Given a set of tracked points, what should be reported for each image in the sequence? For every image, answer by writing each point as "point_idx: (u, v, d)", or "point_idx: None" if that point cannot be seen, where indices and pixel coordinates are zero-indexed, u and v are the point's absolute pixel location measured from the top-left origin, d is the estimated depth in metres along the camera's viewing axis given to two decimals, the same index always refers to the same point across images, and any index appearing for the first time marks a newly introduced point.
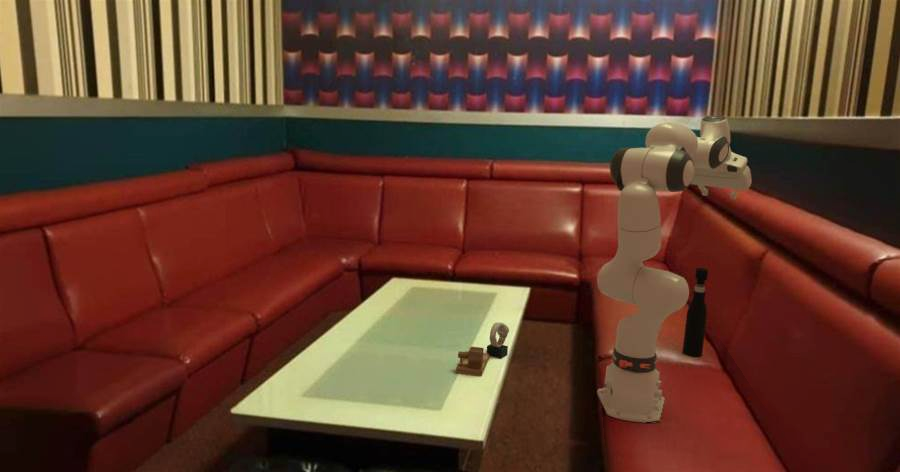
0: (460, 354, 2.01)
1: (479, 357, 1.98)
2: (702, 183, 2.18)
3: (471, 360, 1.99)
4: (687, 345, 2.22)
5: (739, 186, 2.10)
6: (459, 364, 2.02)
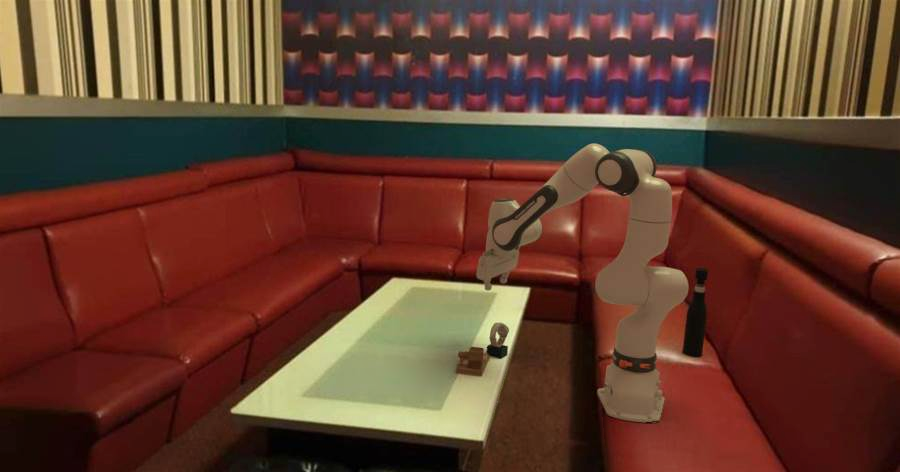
0: (460, 354, 2.01)
1: (479, 357, 1.98)
2: (494, 274, 2.10)
3: (471, 360, 1.99)
4: (687, 345, 2.22)
5: (513, 265, 2.19)
6: (459, 364, 2.02)
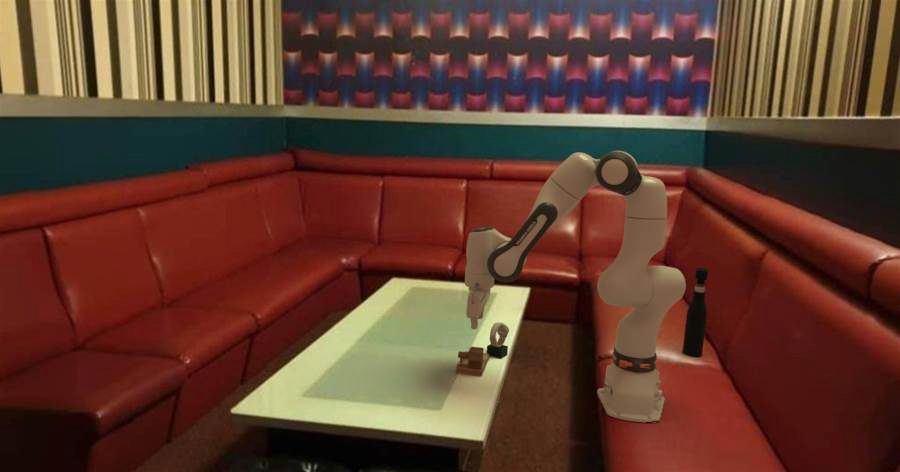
0: (460, 354, 2.01)
1: (479, 357, 1.98)
2: (481, 310, 1.93)
3: (471, 360, 1.99)
4: (687, 345, 2.22)
5: (488, 298, 2.04)
6: (459, 364, 2.02)
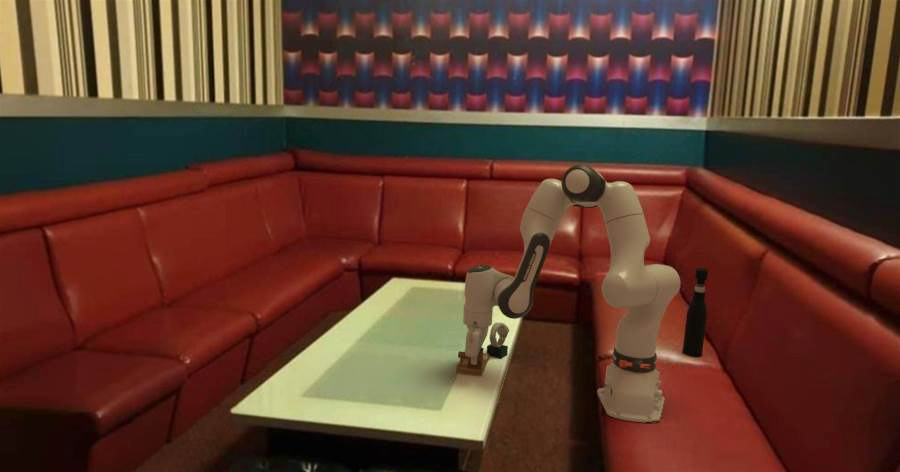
0: (460, 354, 2.01)
1: (479, 357, 1.98)
2: (479, 348, 1.95)
3: None
4: (687, 345, 2.22)
5: (486, 334, 2.06)
6: (459, 364, 2.02)
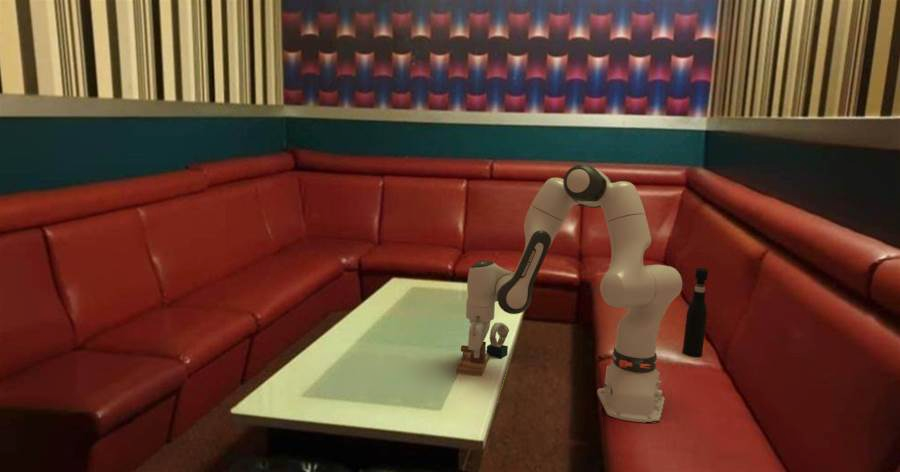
0: (463, 348, 2.05)
1: (481, 351, 2.03)
2: (482, 342, 1.99)
3: (473, 353, 2.03)
4: (687, 345, 2.22)
5: (488, 328, 2.11)
6: (459, 364, 2.02)
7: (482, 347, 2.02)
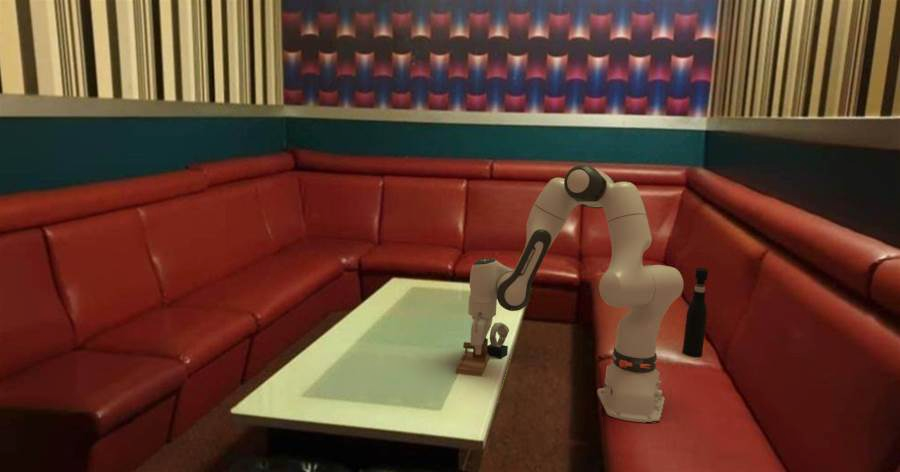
0: (465, 345, 2.09)
1: (484, 347, 2.06)
2: (484, 338, 2.03)
3: None
4: (687, 345, 2.22)
5: (490, 325, 2.15)
6: (459, 364, 2.02)
7: (484, 344, 2.06)
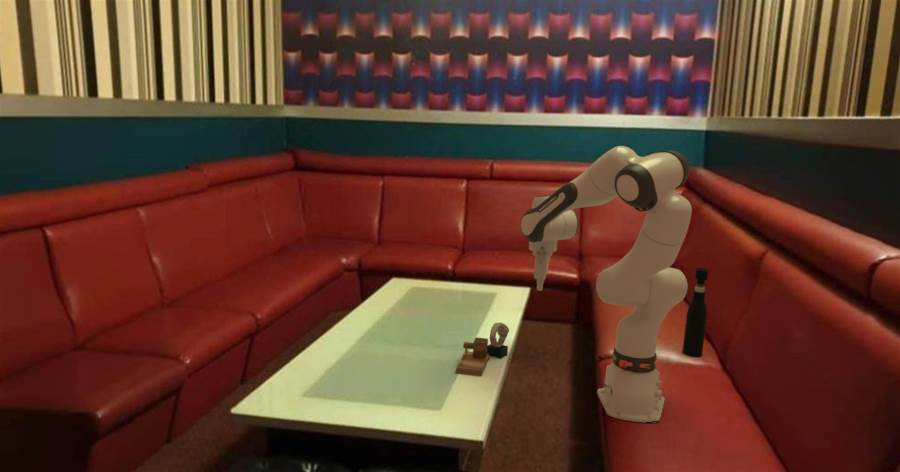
0: (465, 345, 2.09)
1: (484, 347, 2.06)
2: (546, 273, 2.05)
3: (476, 350, 2.07)
4: (687, 345, 2.22)
5: (548, 264, 2.17)
6: (459, 364, 2.02)
7: (484, 344, 2.06)
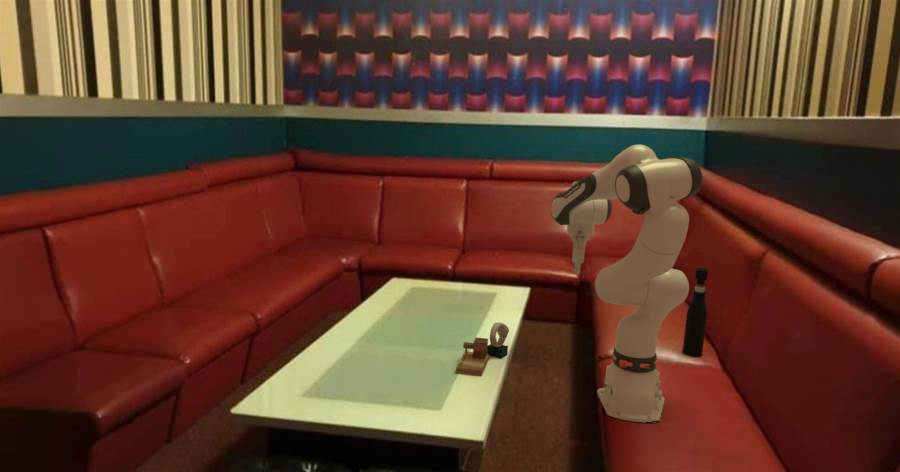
0: (465, 345, 2.09)
1: (484, 347, 2.06)
2: None
3: (476, 350, 2.07)
4: (687, 345, 2.22)
5: None
6: (459, 364, 2.02)
7: (484, 344, 2.06)
